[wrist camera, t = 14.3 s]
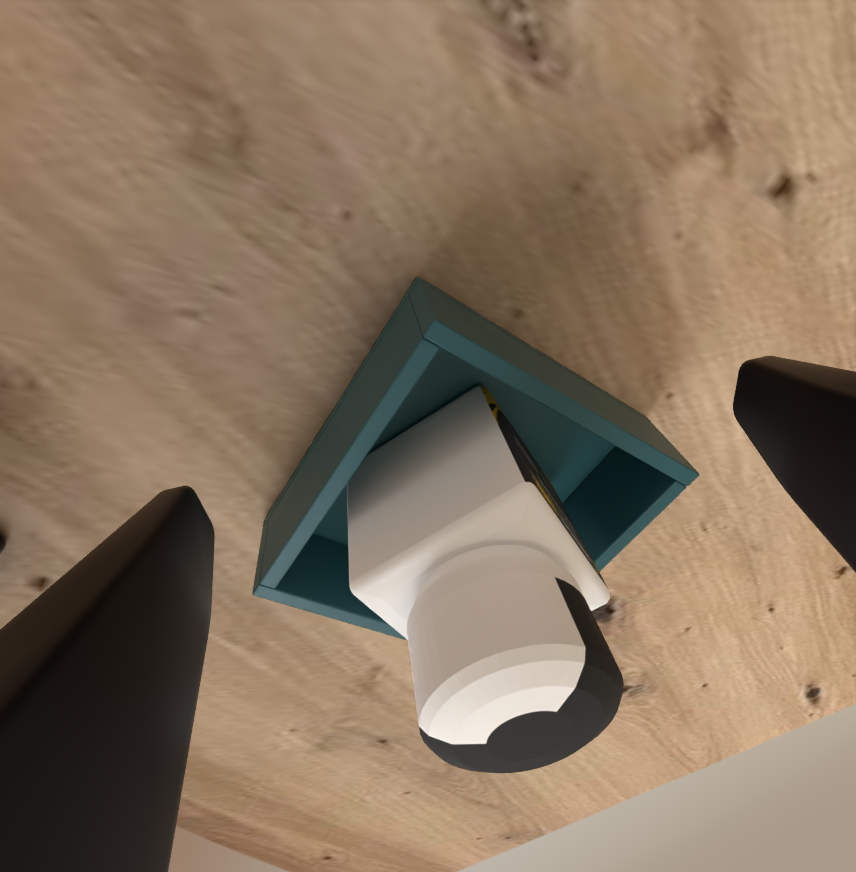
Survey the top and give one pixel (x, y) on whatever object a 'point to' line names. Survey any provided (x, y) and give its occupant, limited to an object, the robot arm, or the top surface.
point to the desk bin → (427, 393)
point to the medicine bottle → (483, 590)
